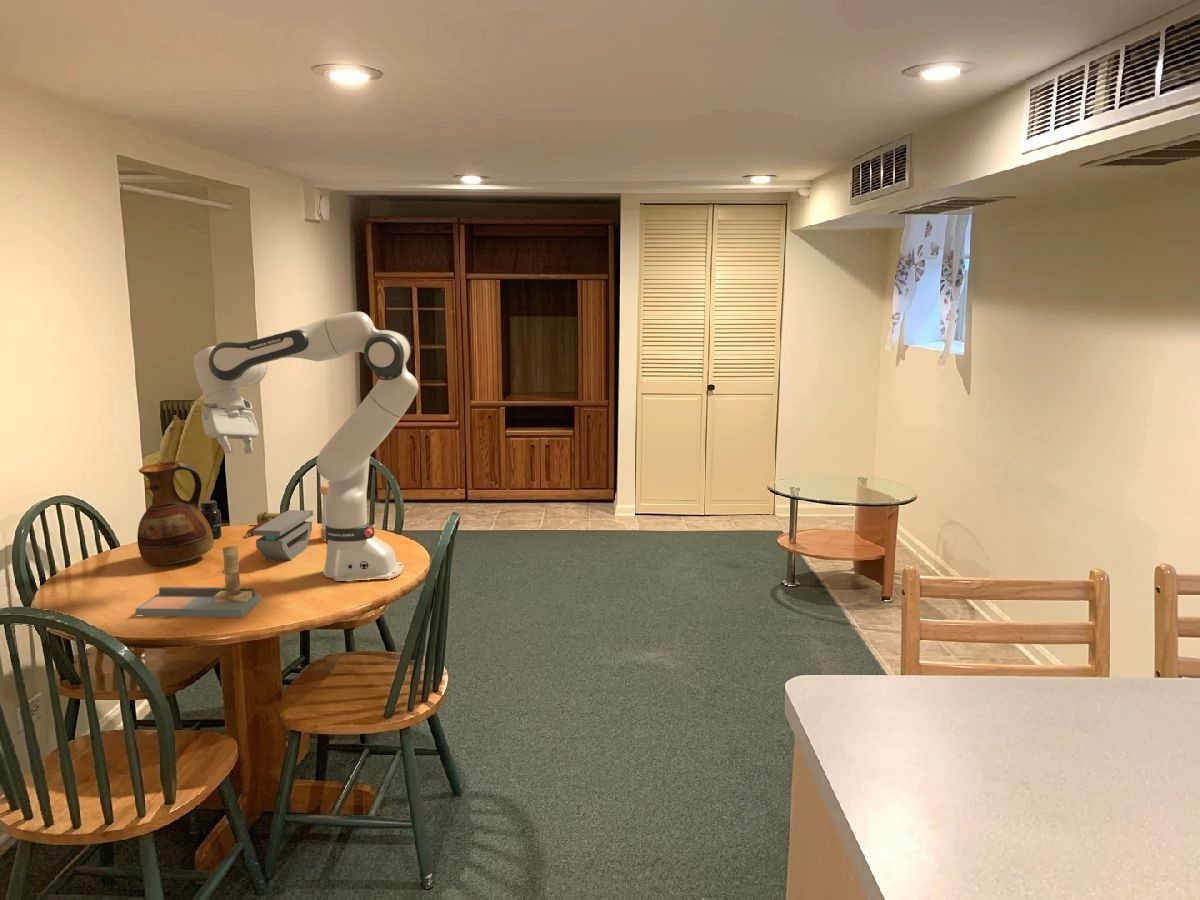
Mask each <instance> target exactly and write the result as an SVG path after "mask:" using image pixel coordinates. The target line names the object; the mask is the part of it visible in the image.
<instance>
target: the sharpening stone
mask: <svg viewBox="0 0 1200 900" xmlns="http://www.w3.org/2000/svg"><path fill="white" fill-rule="evenodd" d="M282 513H283V514H281V513H280V514H281V515H279V516H278V517H276V518H274V519H272V520H271V521H269V522H267V523H265V524H264V525H262V526H260V527H258V528H257V529H255V530H254V536H255V537H257V536H260V537H259V538H257V539H255V547H256V549H257V550H258V552H260V554H261V556H262V557H263V558H264V559H265V560H267V561H271V560H272V561H292V560H294V559H295V558H296V557H297V555H298V556H299V555H300V553H301V554H302V553H303V552H305V551H306V550H307V548H308V545H309V541H310V537H311V534H312V530H313V521H307V520H308V519H309V518H311V517H312V516H314V511H313V510H305V509H304V510H303V509H302V510H299V509H298V510H296V509H288V510H287V511H285V512H282ZM305 549H306V550H305ZM304 550H305V551H304ZM293 558H294V559H293Z"/></svg>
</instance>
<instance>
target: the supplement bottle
mask: <svg viewBox="0 0 1200 900" xmlns="http://www.w3.org/2000/svg"><path fill="white" fill-rule="evenodd" d="M217 504H218V503H217V501H216V500H203V501H201V502H200V509H199V511H200V512H201V513H202V514H203V515H204V517H205V518H206V519H207V521H208V523H209V525H210V528H211V531H212V534H213V540H217V539H218V540H219V539H220V538H221V537H222V534H223V533H222V521H221V520H222V518H221V517H222V514H221V511H220V509H218V505H217Z"/></svg>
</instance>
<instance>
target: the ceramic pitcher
mask: <svg viewBox="0 0 1200 900" xmlns="http://www.w3.org/2000/svg"><path fill="white" fill-rule="evenodd" d="M181 470H182V471H183V470H184V471H188V472H189V473H191V475H192V477H193V481H194V490H193V493H192V496H191V498H190V499H189V500H186V499H183V498H181V497H180V496H179V494H178V493H177V490H176V487H175V483H174V482H175V481H174V476H175V475H174V474H175V472H177V471H181ZM138 473H141V475H143V476H145V477H146V478H147V480H148V482H149V484H148V485H149V490H150V491H151V493H152V495H153V497H152V500H151V501H152V503H151V505H150V506H149V507H148V508H147V509H146V511H145V512H144V513H143V515H141V516H142V517H141V518H140V521H139V522H138V528H137V546H138V551H139V554H140V557H141V559H142V561H144V562H146V563H148V564H152V565H160V566H161V565H171V564H178V563H182V562H185V561H190V560H193V559H195V558H198V557H200V556H203V555H205V554H207V553H208V552H210V551H211V550H212V549H213V548H214V539H213V534H212V531H211V528H210V525H209V523H208V521H207V519H206V518H205V517H204V515H203V514H202V513H201V512H200V509H199V504H200V500H201V493H202V488H203V487H202V484H203V483H202V478H201V477H200V475H199V473H198V471H196V470H195V468H193V466H191V465H189V464H186V463H184V462H181V461H163V462H156V463H152V464H151V463H150V464H147V465H145V466H142V467H140V468H139V469H138Z"/></svg>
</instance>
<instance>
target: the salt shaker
mask: <svg viewBox="0 0 1200 900" xmlns="http://www.w3.org/2000/svg"><path fill="white" fill-rule="evenodd" d="M328 487H329V481H328V483H325V484H323V485H321V486H320V488H319V492H320V494H321V495H322V512H321V529H320V538H321V539H322V540H326V539H325V529H326V525H327V515H326V496H327V492H328ZM322 540H321V541H322Z"/></svg>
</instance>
